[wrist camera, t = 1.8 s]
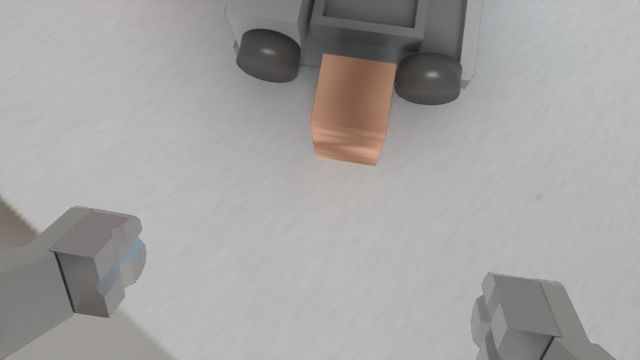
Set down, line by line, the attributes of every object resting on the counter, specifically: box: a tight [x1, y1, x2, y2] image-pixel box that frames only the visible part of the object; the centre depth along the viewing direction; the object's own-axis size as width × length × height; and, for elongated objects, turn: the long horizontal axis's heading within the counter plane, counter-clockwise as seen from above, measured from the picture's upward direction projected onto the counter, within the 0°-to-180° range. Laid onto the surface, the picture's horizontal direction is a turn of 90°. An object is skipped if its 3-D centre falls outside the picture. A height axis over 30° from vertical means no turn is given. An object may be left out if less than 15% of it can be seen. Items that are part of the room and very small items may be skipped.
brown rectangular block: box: [310, 54, 397, 166], centre depth 33 cm, size 5×5×8 cm
